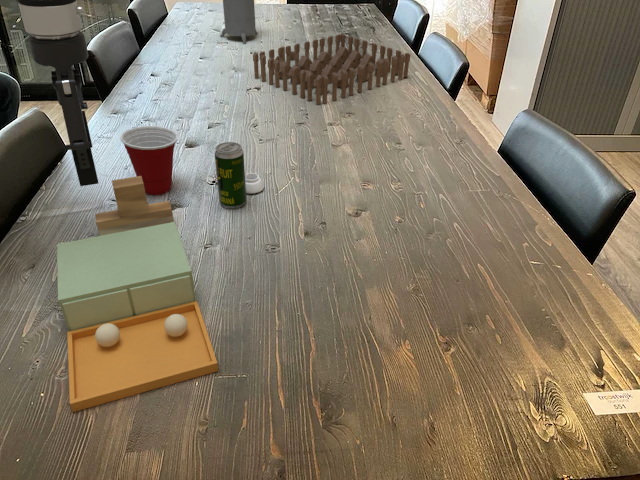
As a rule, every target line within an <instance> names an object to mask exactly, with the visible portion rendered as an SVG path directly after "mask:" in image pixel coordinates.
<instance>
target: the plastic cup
mask: <svg viewBox="0 0 640 480" xmlns="http://www.w3.org/2000/svg"><path fill="white" fill-rule="evenodd" d="M178 138H179V134H178V133H177V132H176V131H175V130H173V129H170V128H168V127H163V126H157V125H144V126H143V125H142V126H136V127H132V128H129V129H126V130H125V131H123V132H122V133H121V134H120V138H119V140H120V141H121V143H122V144H123V145H124V148H125V150H126V153H127V154H128V158H129V159H130V163H131V165H132V167H133V171H134V174H135V177H136V176H142V180H143V183H144V188H145V194H146V195H149V196H160V195H163V194H167V193H168V192H170V190H171V189H172V185H173V170H174V168H173V167H174V166H173V165H174V152H175V147H176V142H177V141H178Z"/></svg>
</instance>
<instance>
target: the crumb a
mask: <svg viewBox="0 0 640 480" xmlns="http://www.w3.org/2000/svg"><path fill="white" fill-rule="evenodd" d="M119 338H120V331H119V329H118V328H117V326H115V325H113V324H110V323H107V324H103V325H101V326H100V327H99V328H98V329H97V330H96V333H95V339H96V341H97V343H98V344H99V345H101V346H104V347H110V346H113V345H115V344H116V343H117V342H118V340H119Z"/></svg>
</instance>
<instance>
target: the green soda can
mask: <svg viewBox="0 0 640 480" xmlns="http://www.w3.org/2000/svg"><path fill="white" fill-rule="evenodd" d="M214 150H215V151H214V162H215V171H216V181H217V192H218V201H219V204H220V205H221V206H222V207H223V208H225V209H228V210H236V209H240V208H242V207H243V206H245V205H246V202H247V199H248V198H247V193H246V182H245V175H246V171H245V170H246V169H245V153H244V150H243V146H242V144H240V143H238V142H236V141H235V142H234V141H226V142H221V143H219V144H217V145H216V146H215V147H214Z"/></svg>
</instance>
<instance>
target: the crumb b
mask: <svg viewBox="0 0 640 480" xmlns="http://www.w3.org/2000/svg"><path fill="white" fill-rule="evenodd" d="M187 326H188V324H187V320H186V318H185V317H184V316H182V315H180V314H173V315H170V316H169V317H168V318H167V319H166V321H165V323H164V328H165V331H166V333H167V334H169V335H170V336H173V337H178V336H181V335H183V334H184V333H185V331H186V330H187Z"/></svg>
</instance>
